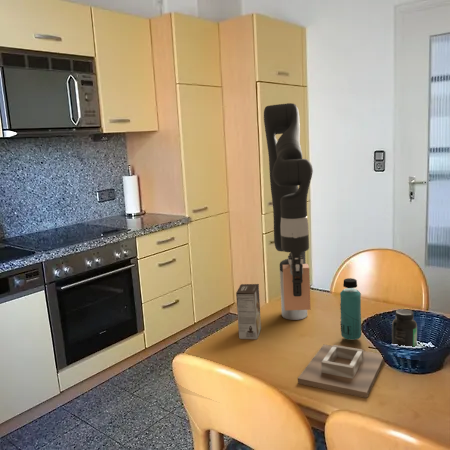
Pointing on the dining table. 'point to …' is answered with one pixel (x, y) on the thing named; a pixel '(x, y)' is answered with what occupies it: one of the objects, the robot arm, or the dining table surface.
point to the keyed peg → (289, 299)
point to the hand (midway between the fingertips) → (296, 292)
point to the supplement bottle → (404, 328)
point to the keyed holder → (342, 370)
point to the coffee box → (248, 311)
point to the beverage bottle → (350, 310)
